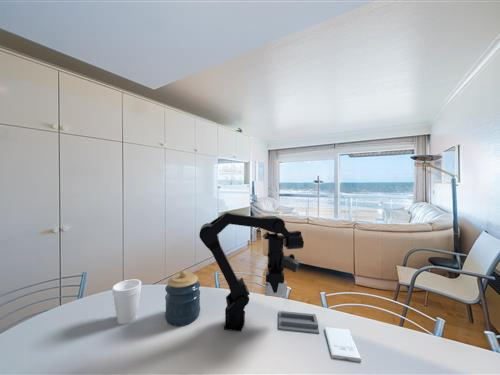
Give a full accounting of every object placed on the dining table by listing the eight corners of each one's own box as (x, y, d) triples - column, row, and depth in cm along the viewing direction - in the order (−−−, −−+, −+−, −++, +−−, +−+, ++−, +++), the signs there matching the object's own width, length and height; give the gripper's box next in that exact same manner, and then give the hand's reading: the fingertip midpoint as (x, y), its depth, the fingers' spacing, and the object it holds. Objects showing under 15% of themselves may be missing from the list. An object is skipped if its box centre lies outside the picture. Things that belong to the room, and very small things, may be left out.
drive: (264, 295, 78) (265, 282, 78) (265, 292, 81) (265, 279, 81) (286, 297, 77) (286, 284, 77) (286, 293, 80) (286, 280, 80)
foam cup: (106, 323, 77) (106, 287, 77) (129, 309, 85) (129, 277, 85) (124, 329, 73) (124, 293, 73) (146, 314, 82) (146, 281, 82)
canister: (157, 322, 77) (157, 274, 77) (180, 303, 90) (180, 262, 89) (186, 330, 73) (186, 280, 73) (206, 310, 85) (206, 267, 85)
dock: (278, 329, 74) (278, 324, 74) (278, 312, 84) (278, 308, 84) (319, 333, 72) (319, 328, 72) (315, 315, 82) (315, 311, 82)
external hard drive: (348, 334, 73) (361, 363, 60) (324, 331, 74) (331, 359, 62) (348, 329, 73) (361, 358, 60) (324, 326, 74) (331, 354, 62)
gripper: (299, 259, 69) (299, 306, 69) (295, 244, 87) (295, 281, 87) (265, 257, 70) (265, 304, 70) (268, 242, 89) (268, 279, 89)
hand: (275, 290), depth 79 cm, fingers closed on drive, 2 cm apart
